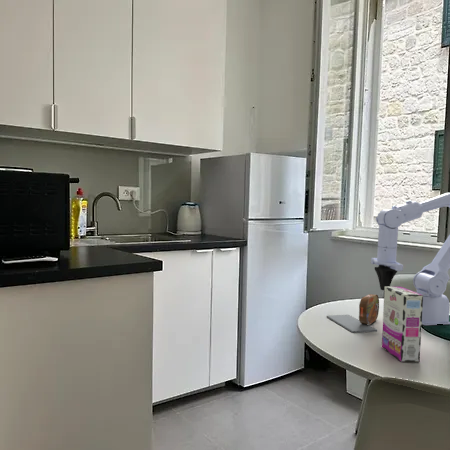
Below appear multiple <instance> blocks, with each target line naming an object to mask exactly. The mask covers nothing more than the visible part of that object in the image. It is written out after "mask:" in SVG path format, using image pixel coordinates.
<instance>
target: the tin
mask: <svg viewBox="0 0 450 450" xmlns="http://www.w3.org/2000/svg"><path fill="white" fill-rule="evenodd" d="M358 305H359V307H358V308H359V309H358V310H359V311H358V313H359V314H358V320H359V321H360V323H362V324H367V325H369V326H371V325H372V324H373V323H374V322H376V321H377V319H378V316H379V311H380V310H379V309H380V298H379V295H378V294H372V293H371V294H367V295H365V296H363V297H362V298H361V299H360V301H359V303H358Z"/></svg>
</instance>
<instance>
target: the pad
mask: <svg viewBox="0 0 450 450" xmlns="http://www.w3.org/2000/svg"><path fill="white" fill-rule="evenodd" d="M326 318H327V319H329V320H331V321H332V322H334V323H335V324H337V325H339V326H341V327H342V328H344V329H345V330H348V331H349V332H350V333H356V334H357V333H370V332H371V333H372V332H378V329H377V328H375V327H374V326H372V325H368V324H362V323H360V321H359V318H356V317H354V316H352V315H351V314H331V315H329V314H327V315H326Z"/></svg>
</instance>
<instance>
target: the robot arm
mask: <svg viewBox="0 0 450 450" xmlns="http://www.w3.org/2000/svg"><path fill="white" fill-rule="evenodd" d="M444 207H445V208H447V207H448V208H449V209H450V192H445V193H443V194H440V195H437V196H434V197H431V198H429V199H426V200H424V201H421V202H418V201H416V200H412V199H409V200H405V203H403V204H400V205H393V206H391V208H389V209H387V208H384V209H381V210H380V211H379V212H378V213H377V216H376V217H375V221H376V223H377V225H378V237H377V251H376V252H377V255H376V257H371V258H370V264H372V265H376V266H374V271H375V273H376V276H377V278H378V283H379V288H380V290H381V291H384V287H388V286H391V285H392V281H393V279H394V278H395V276H396V275H397V273H398V272H403V271H404V264H402V263H401V262H398V261H397V254H398V238H399V227H400V226H402V224H405V223H408V222H409V223H410V222H412V221H415V220H417V219H420V218H422V216H423V214H424V213H427V212H429V211H433V210H436V209H439V208H444ZM449 270H450V234H448V236H447V238H446V239H445V241H444V243H443V244H442V245H441V247H440V249H439V250H438V251H437V253H436V254H435V256H434V258H433V259H432V261H431V262H430V263H429V264H427V265H425V266H423V267H422V269H421V270H420V271H418V272H417V273H415V275H414V276H413V279H412V283H413V284H412V285H413V286H414V288H415V290H416V291H415V292H416V293H418V294H421V295H423V309H422V325H423V326H438V325H437V324H443V325H450V300H449V298H448V297H447V295H445V294H444V293H446V290H447V285H448V281H449V280H450V275H449Z"/></svg>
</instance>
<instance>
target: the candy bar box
mask: <svg viewBox="0 0 450 450" xmlns="http://www.w3.org/2000/svg"><path fill="white" fill-rule="evenodd" d="M383 291H384V293H383V294H384V295H383V312H382V313H383V314H382V333H381V336H382V337H381V348H382V349H384V351H386V352H387V353H389V354H391V355H392V356H393V357H394V358H395V359H397V360H398V361H400V362H401V363H419V362H420V361H421V346H422V345H421V342H422V340H421V339H422V325H423V324H422V309H423V295H421V294H418V293H417V292H416V291H414V290H410V289H408V288H405V287H403V286H391V285H390V286H388V287H384V290H383Z"/></svg>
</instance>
